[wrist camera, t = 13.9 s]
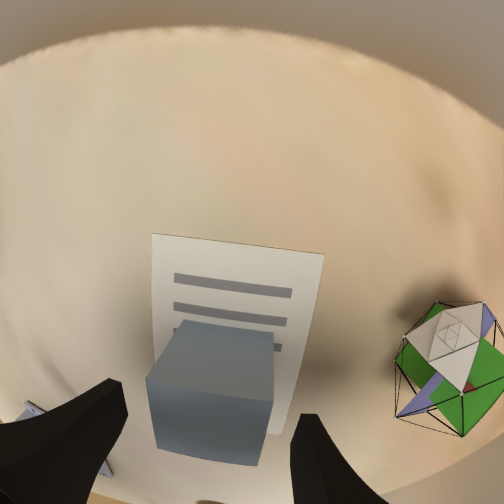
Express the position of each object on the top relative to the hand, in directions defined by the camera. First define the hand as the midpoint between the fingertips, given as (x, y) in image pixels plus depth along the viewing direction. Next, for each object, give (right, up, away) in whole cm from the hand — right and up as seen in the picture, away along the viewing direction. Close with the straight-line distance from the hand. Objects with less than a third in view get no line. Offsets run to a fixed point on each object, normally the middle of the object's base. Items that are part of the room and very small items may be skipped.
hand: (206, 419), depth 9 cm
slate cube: (0, +1, +5) cm, 5 cm away
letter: (0, +1, +5) cm, 5 cm away
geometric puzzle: (+12, +2, +4) cm, 13 cm away
